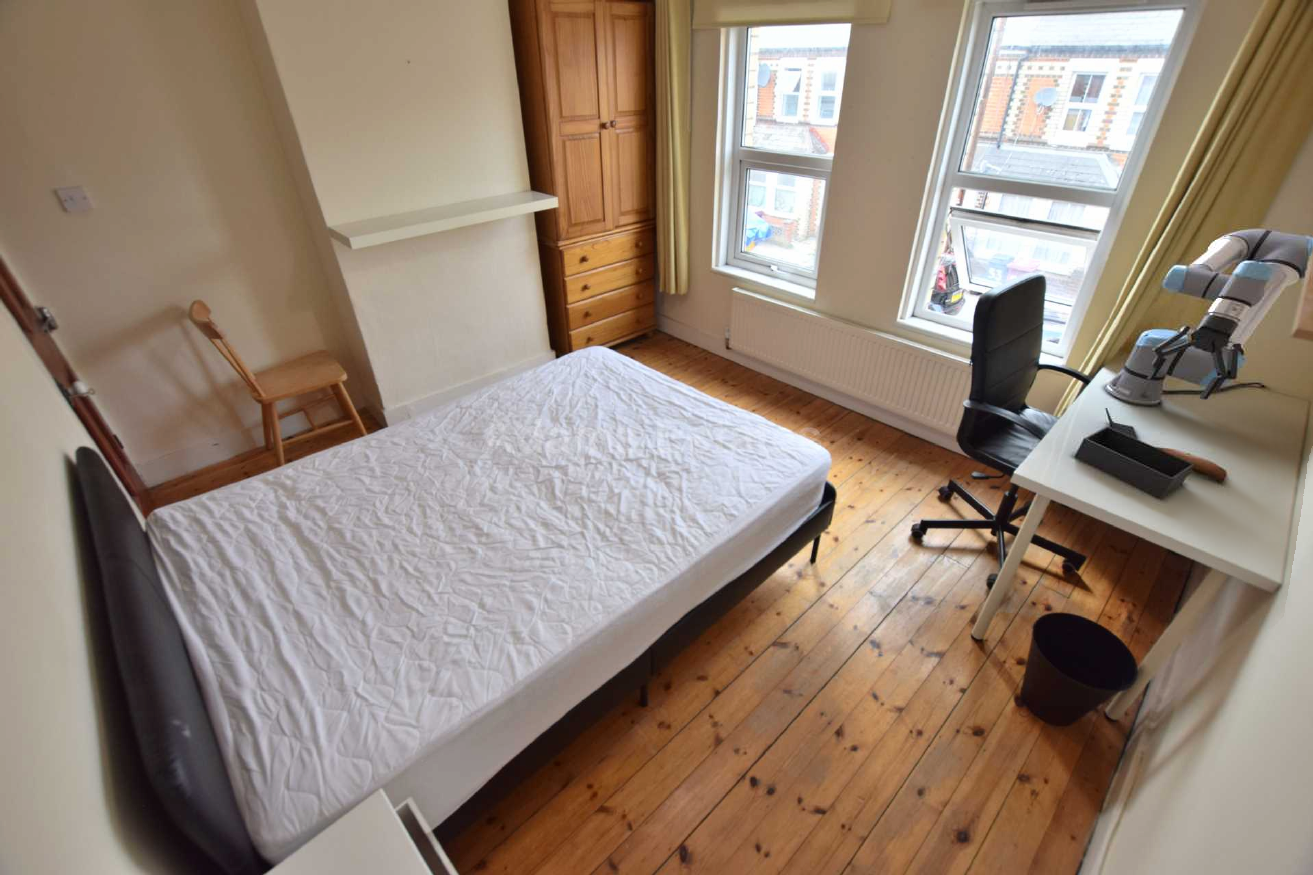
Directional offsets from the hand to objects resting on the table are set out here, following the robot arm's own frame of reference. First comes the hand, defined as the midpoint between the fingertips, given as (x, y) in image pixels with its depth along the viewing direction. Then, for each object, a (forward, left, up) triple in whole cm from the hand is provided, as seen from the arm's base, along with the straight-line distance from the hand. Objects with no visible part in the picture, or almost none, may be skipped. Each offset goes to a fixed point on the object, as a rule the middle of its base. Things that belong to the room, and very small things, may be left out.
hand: (1175, 389), depth 165 cm
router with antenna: (+2, -7, -19) cm, 20 cm away
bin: (+20, +4, -18) cm, 28 cm away
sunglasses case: (+4, +11, -19) cm, 22 cm away
